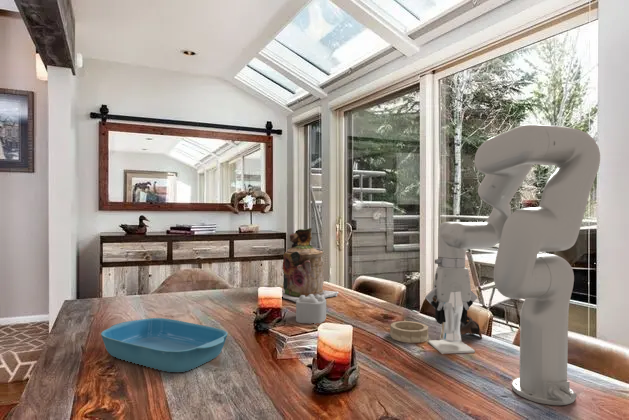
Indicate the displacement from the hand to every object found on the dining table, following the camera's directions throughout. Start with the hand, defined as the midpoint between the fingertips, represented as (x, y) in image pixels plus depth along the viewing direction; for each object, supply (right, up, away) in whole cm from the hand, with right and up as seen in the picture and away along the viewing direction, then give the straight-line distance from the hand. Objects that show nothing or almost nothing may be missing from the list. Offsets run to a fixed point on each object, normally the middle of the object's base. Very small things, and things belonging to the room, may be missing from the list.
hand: (451, 322), depth 127 cm
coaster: (0, -8, 0) cm, 8 cm away
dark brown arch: (+8, -8, +11) cm, 16 cm away
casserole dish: (-83, -7, -9) cm, 84 cm away
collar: (-10, -7, +10) cm, 16 cm away
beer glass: (0, -5, 0) cm, 5 cm away
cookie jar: (-46, -7, +71) cm, 85 cm away
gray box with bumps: (-42, -7, +31) cm, 53 cm away
